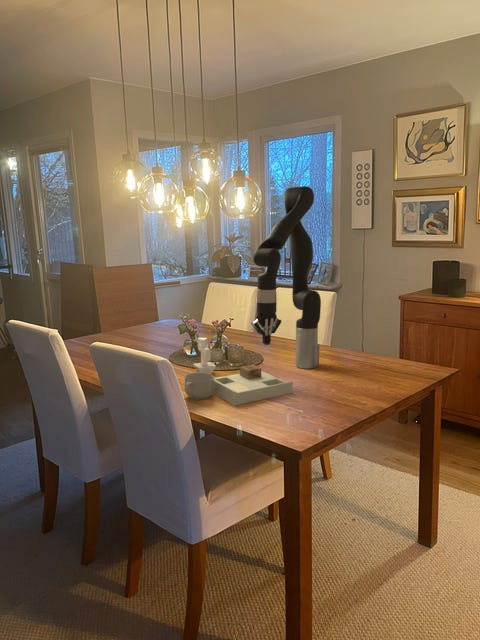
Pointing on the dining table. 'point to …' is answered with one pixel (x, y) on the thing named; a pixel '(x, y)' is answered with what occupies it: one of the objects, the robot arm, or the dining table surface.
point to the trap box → (250, 388)
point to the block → (250, 372)
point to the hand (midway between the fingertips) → (266, 344)
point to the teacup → (199, 385)
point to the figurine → (204, 357)
